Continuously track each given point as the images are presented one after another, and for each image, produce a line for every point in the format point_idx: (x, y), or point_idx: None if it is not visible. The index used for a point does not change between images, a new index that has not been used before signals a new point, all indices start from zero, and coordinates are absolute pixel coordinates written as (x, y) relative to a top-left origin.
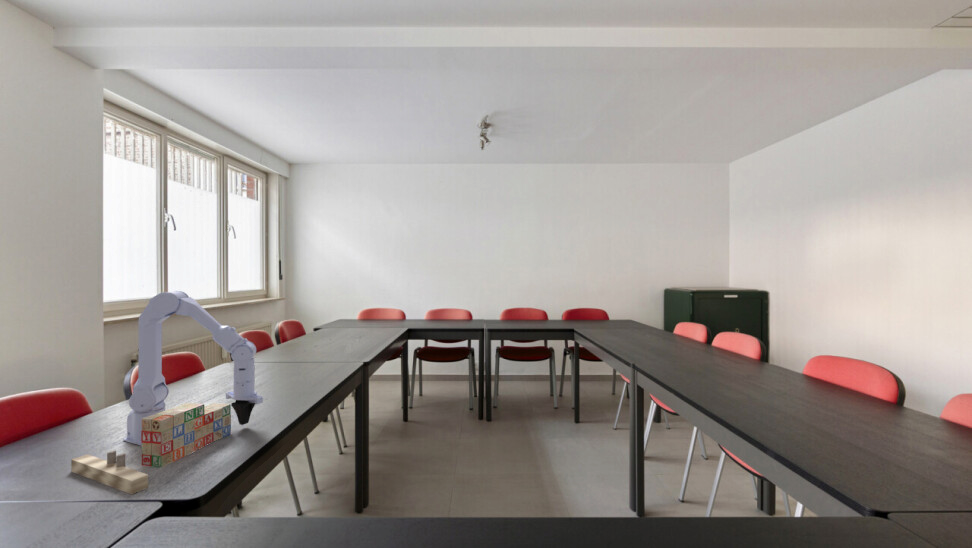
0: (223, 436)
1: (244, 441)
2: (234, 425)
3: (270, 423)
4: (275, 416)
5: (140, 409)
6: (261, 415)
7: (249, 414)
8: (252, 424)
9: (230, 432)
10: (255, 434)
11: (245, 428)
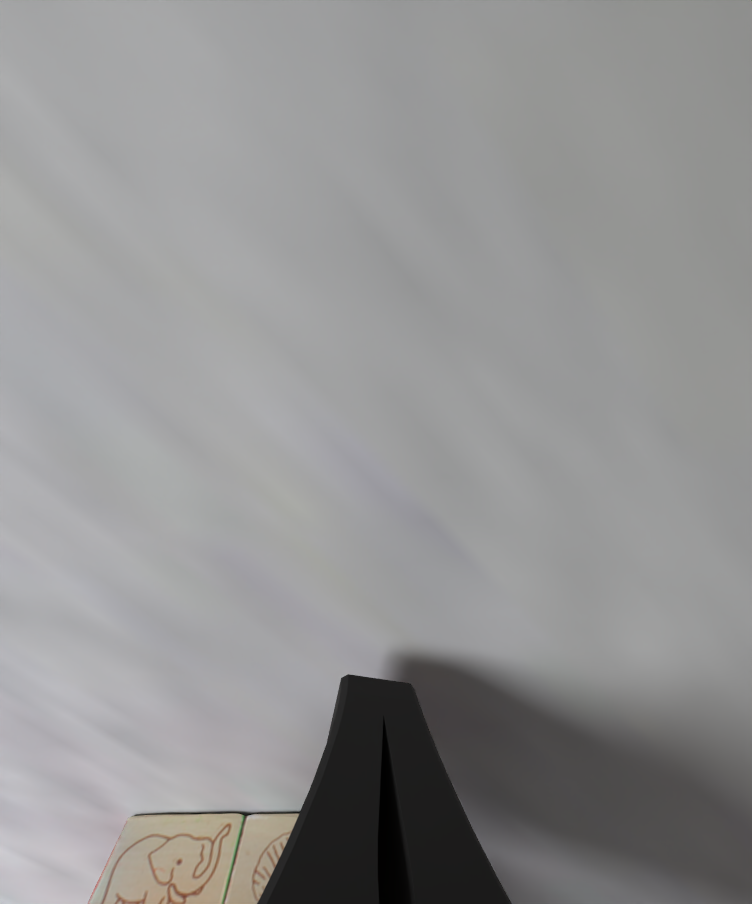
0: None
1: (655, 896)
2: (150, 617)
3: (657, 449)
4: (536, 73)
5: None
6: (166, 82)
7: (453, 835)
8: (385, 539)
9: None
10: (666, 773)
11: (402, 667)
